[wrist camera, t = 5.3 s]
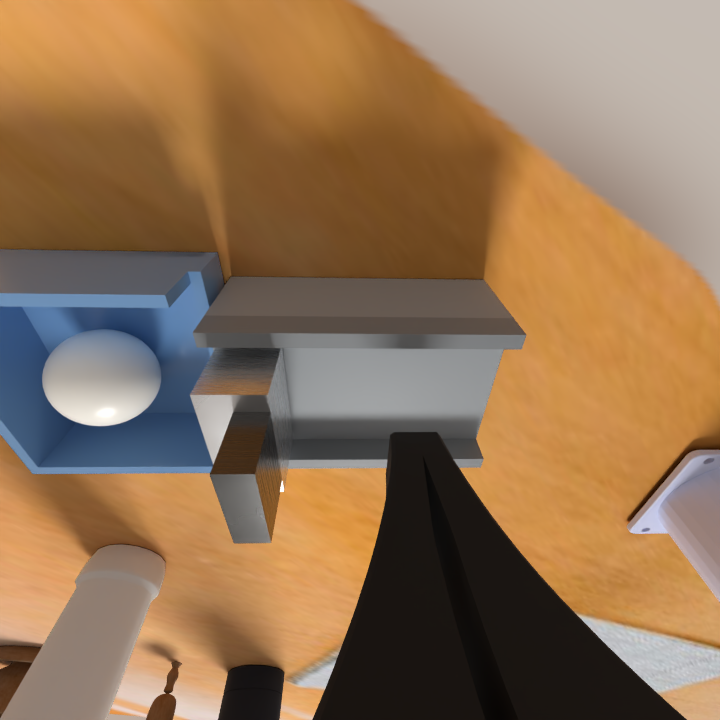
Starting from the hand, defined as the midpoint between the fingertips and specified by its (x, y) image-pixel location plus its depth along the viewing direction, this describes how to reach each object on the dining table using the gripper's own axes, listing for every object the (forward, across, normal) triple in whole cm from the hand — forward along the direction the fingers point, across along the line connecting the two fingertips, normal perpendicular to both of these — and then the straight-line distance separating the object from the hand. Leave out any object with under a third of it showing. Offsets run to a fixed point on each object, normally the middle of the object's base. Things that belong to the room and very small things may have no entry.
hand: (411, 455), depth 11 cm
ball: (+3, +11, 0) cm, 11 cm away
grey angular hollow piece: (+3, +5, 0) cm, 6 cm away
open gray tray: (+6, +2, 0) cm, 6 cm away
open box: (+6, +10, 0) cm, 12 cm away
